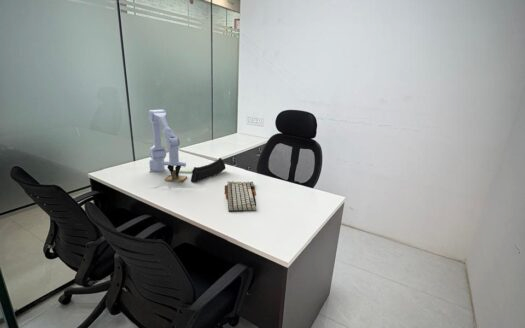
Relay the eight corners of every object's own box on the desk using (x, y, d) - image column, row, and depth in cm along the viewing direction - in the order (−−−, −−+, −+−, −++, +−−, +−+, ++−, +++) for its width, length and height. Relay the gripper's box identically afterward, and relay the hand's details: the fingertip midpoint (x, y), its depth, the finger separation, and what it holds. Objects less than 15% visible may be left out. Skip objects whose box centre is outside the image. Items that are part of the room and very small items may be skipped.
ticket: (174, 172, 184) (173, 170, 184) (178, 168, 193) (178, 166, 192) (190, 173, 184) (190, 171, 184) (194, 169, 193) (194, 167, 192)
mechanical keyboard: (262, 212, 138) (262, 206, 137) (226, 213, 135) (225, 208, 134) (253, 184, 174) (253, 180, 173) (224, 185, 171) (224, 180, 170)
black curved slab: (190, 172, 163) (221, 149, 183) (187, 170, 165) (218, 148, 185) (197, 193, 172) (226, 169, 193) (194, 192, 174) (223, 168, 194)
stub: (164, 180, 169) (164, 171, 167) (169, 176, 176) (168, 167, 175) (183, 182, 168) (182, 173, 167) (187, 177, 176) (186, 169, 174)
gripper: (159, 157, 162) (161, 177, 167) (183, 158, 162) (184, 179, 166) (164, 154, 169) (166, 173, 173) (186, 155, 169) (187, 175, 173)
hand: (175, 176), depth 170 cm, fingers closed on stub, 2 cm apart
